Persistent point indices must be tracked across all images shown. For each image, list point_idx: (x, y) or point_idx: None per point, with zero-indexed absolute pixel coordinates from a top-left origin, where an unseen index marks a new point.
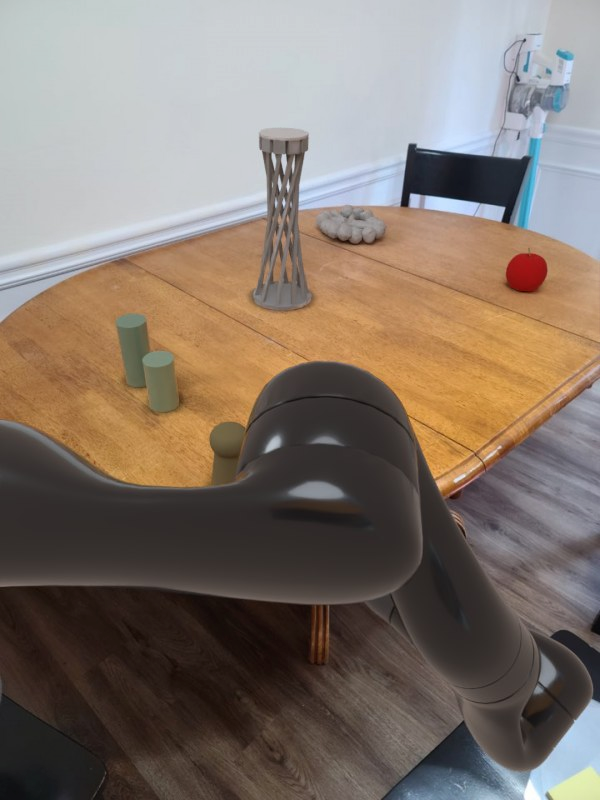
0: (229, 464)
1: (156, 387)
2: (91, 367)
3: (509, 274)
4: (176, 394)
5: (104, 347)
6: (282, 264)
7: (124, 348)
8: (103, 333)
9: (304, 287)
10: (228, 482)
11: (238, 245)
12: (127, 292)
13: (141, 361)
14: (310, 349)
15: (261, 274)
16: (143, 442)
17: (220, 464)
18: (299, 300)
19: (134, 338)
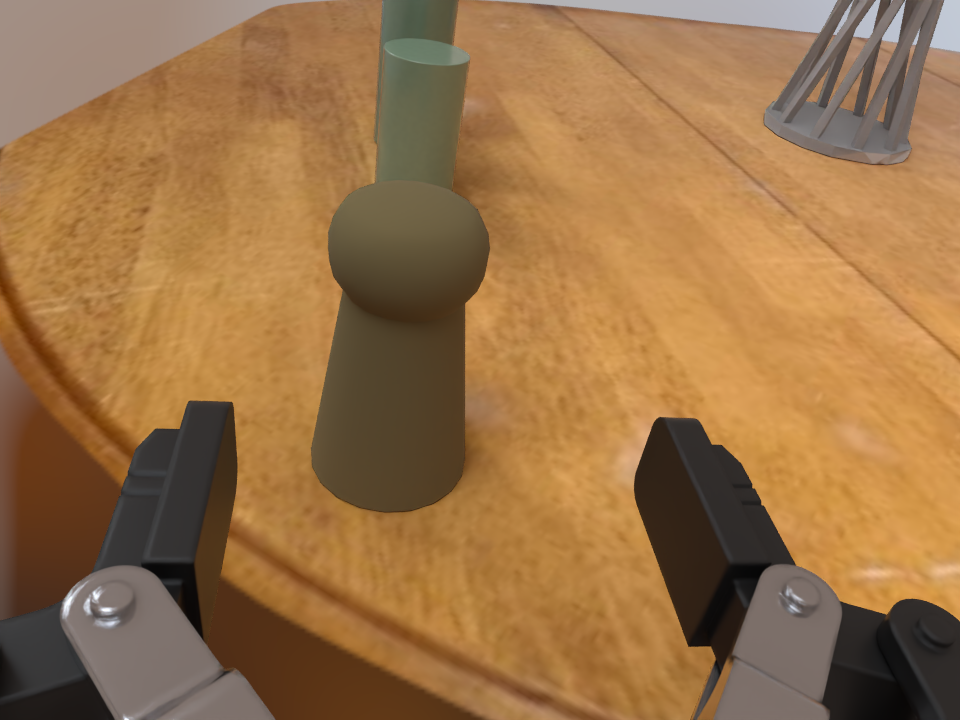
0: (366, 339)
1: (392, 126)
2: (337, 93)
3: None
4: (441, 174)
5: None
6: (873, 34)
7: (384, 30)
8: None
9: (903, 119)
10: (349, 411)
11: (782, 49)
12: (516, 36)
13: None
14: (858, 238)
15: (807, 57)
16: (286, 240)
17: (342, 328)
18: (875, 147)
19: (410, 5)
